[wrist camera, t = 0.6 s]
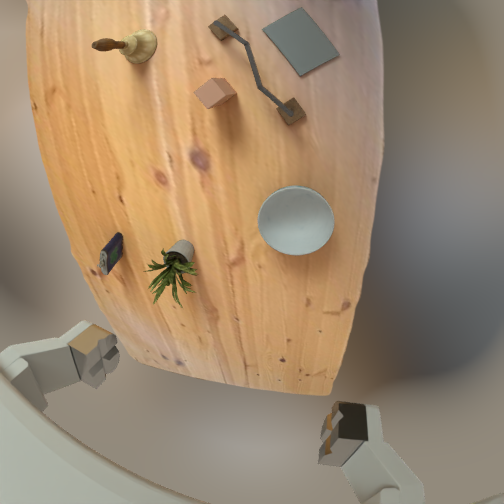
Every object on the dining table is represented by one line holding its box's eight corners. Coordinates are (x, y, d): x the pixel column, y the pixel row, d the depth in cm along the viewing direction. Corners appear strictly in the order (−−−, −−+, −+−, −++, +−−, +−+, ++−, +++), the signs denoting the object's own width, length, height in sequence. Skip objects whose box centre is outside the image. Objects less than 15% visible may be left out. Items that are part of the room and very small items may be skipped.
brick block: (209, 90, 47) (193, 92, 40) (224, 78, 45) (211, 77, 38) (221, 104, 49) (207, 109, 41) (236, 93, 47) (225, 95, 40)
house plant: (200, 281, 76) (181, 324, 63) (156, 259, 74) (130, 299, 61) (218, 244, 68) (199, 289, 55) (169, 220, 66) (139, 259, 53)
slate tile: (262, 29, 39) (262, 29, 38) (301, 8, 35) (301, 7, 34) (300, 76, 43) (300, 76, 43) (339, 55, 39) (339, 54, 39)
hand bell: (163, 48, 42) (120, 42, 29) (134, 70, 45) (87, 74, 32) (146, 22, 38) (101, 13, 26) (119, 45, 42) (71, 45, 29)
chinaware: (343, 211, 58) (349, 229, 52) (292, 247, 65) (291, 267, 59) (300, 160, 53) (300, 171, 47) (248, 202, 61) (241, 219, 54)
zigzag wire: (209, 27, 39) (199, 22, 34) (226, 16, 37) (217, 9, 32) (288, 124, 49) (287, 129, 44) (305, 114, 48) (306, 117, 43)
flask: (122, 258, 77) (104, 280, 68) (114, 254, 76) (96, 276, 68) (123, 233, 71) (103, 256, 63) (115, 230, 71) (94, 252, 62)
